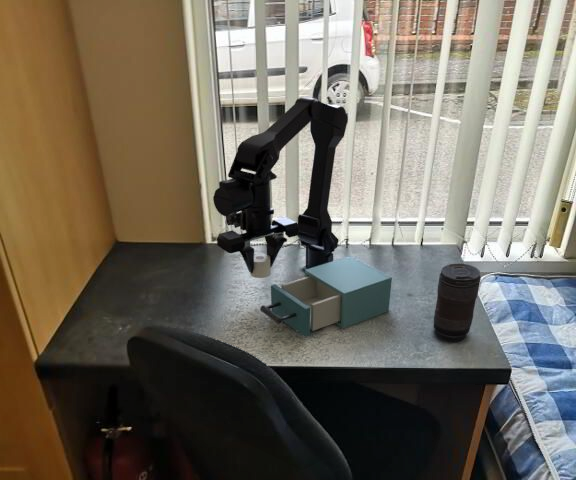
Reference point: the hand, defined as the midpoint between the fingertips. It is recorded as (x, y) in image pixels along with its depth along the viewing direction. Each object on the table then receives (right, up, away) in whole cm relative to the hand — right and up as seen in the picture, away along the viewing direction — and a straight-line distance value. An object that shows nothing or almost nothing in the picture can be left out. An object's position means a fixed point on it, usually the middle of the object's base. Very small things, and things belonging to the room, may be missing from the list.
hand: (260, 269), depth 134 cm
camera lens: (+41, -16, -10) cm, 46 cm away
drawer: (+10, -12, -5) cm, 16 cm away
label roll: (0, -1, +1) cm, 1 cm away
